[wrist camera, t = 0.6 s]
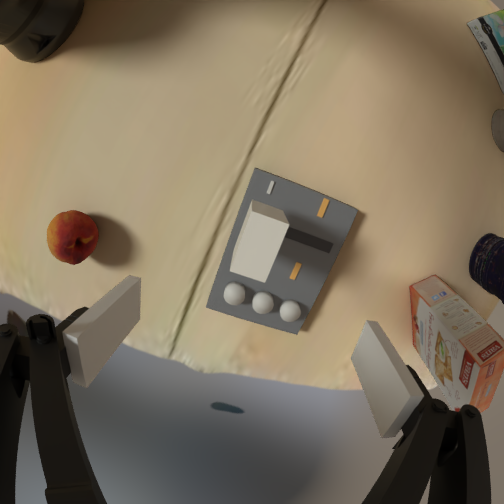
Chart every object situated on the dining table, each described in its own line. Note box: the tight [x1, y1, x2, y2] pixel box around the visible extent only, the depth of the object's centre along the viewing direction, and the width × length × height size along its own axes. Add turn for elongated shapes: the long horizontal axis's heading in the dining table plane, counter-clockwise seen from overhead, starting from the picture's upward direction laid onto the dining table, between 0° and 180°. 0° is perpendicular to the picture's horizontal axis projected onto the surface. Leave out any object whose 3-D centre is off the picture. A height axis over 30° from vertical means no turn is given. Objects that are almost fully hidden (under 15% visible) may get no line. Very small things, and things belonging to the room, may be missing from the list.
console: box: [206, 168, 358, 335], centre depth 37 cm, size 20×14×4 cm
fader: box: [230, 199, 289, 283], centre depth 30 cm, size 6×4×10 cm, turn 161°
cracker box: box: [409, 275, 504, 413], centre depth 32 cm, size 14×6×21 cm, turn 22°
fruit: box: [47, 210, 99, 265], centre depth 34 cm, size 8×8×8 cm
